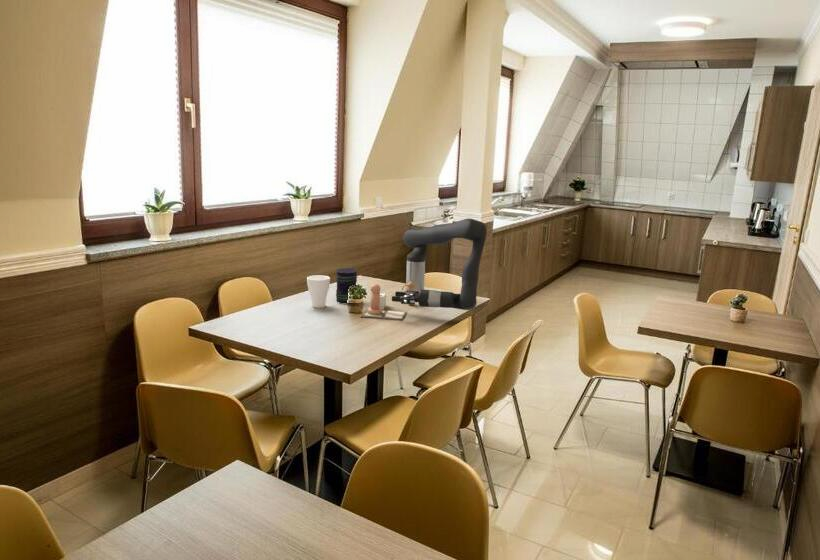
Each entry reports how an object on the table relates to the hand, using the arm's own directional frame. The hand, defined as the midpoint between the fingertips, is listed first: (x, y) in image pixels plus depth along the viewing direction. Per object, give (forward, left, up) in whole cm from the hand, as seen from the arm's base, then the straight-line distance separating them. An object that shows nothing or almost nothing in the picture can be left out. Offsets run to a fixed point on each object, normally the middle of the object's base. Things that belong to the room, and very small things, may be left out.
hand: (393, 296), depth 259 cm
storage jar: (-19, -26, -9) cm, 34 cm away
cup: (-7, -36, -9) cm, 38 cm away
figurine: (-19, +5, -9) cm, 22 cm away
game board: (0, -4, -9) cm, 10 cm away
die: (-12, -9, -9) cm, 18 cm away
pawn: (0, -8, -8) cm, 12 cm away
